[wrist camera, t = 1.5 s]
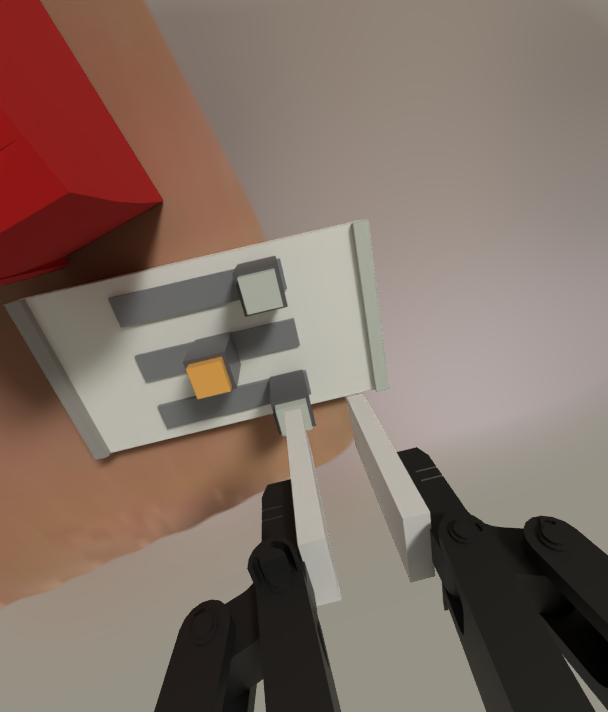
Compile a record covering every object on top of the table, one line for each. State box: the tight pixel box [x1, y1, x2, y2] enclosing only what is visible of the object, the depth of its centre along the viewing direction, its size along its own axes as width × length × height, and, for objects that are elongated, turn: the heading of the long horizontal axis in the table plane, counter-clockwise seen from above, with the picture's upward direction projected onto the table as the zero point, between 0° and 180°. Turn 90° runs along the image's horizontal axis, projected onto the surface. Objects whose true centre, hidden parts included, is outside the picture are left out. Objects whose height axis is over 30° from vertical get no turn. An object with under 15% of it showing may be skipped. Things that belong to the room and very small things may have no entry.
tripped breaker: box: [183, 332, 241, 399], centre depth 25 cm, size 3×3×5 cm
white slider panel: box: [4, 220, 389, 460], centre depth 27 cm, size 28×15×8 cm, turn 102°
